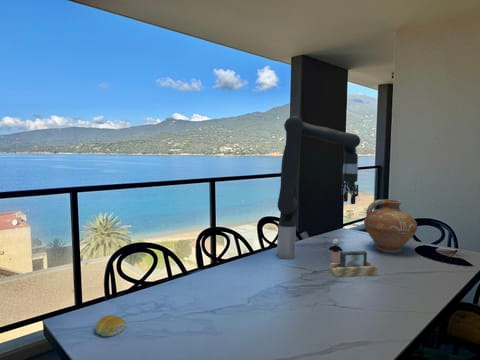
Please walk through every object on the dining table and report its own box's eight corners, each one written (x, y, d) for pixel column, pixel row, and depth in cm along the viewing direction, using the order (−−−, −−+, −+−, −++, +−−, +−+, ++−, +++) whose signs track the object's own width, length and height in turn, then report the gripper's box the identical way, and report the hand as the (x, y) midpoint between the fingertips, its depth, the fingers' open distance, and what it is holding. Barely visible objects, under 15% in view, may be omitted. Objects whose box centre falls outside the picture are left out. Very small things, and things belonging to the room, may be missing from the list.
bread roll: (112, 320, 107) (111, 308, 107) (129, 328, 102) (129, 316, 102) (89, 331, 100) (88, 319, 100) (107, 340, 95) (106, 328, 95)
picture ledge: (337, 276, 146) (337, 268, 146) (329, 270, 154) (330, 262, 153) (378, 275, 148) (378, 267, 148) (368, 269, 156) (369, 261, 156)
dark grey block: (342, 270, 149) (342, 253, 148) (339, 268, 151) (340, 251, 151) (366, 269, 150) (366, 252, 150) (363, 267, 153) (364, 250, 152)
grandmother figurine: (341, 262, 166) (342, 238, 165) (343, 264, 162) (344, 240, 161) (326, 261, 167) (327, 237, 166) (327, 264, 163) (328, 239, 162)
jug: (426, 258, 173) (429, 203, 171) (373, 257, 174) (376, 203, 171) (400, 243, 202) (403, 196, 199) (355, 243, 202) (357, 196, 199)
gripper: (337, 171, 175) (336, 200, 177) (349, 173, 161) (348, 205, 163) (350, 171, 176) (349, 200, 178) (363, 173, 162) (362, 204, 164)
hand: (349, 202), depth 170 cm, fingers open, 8 cm apart
